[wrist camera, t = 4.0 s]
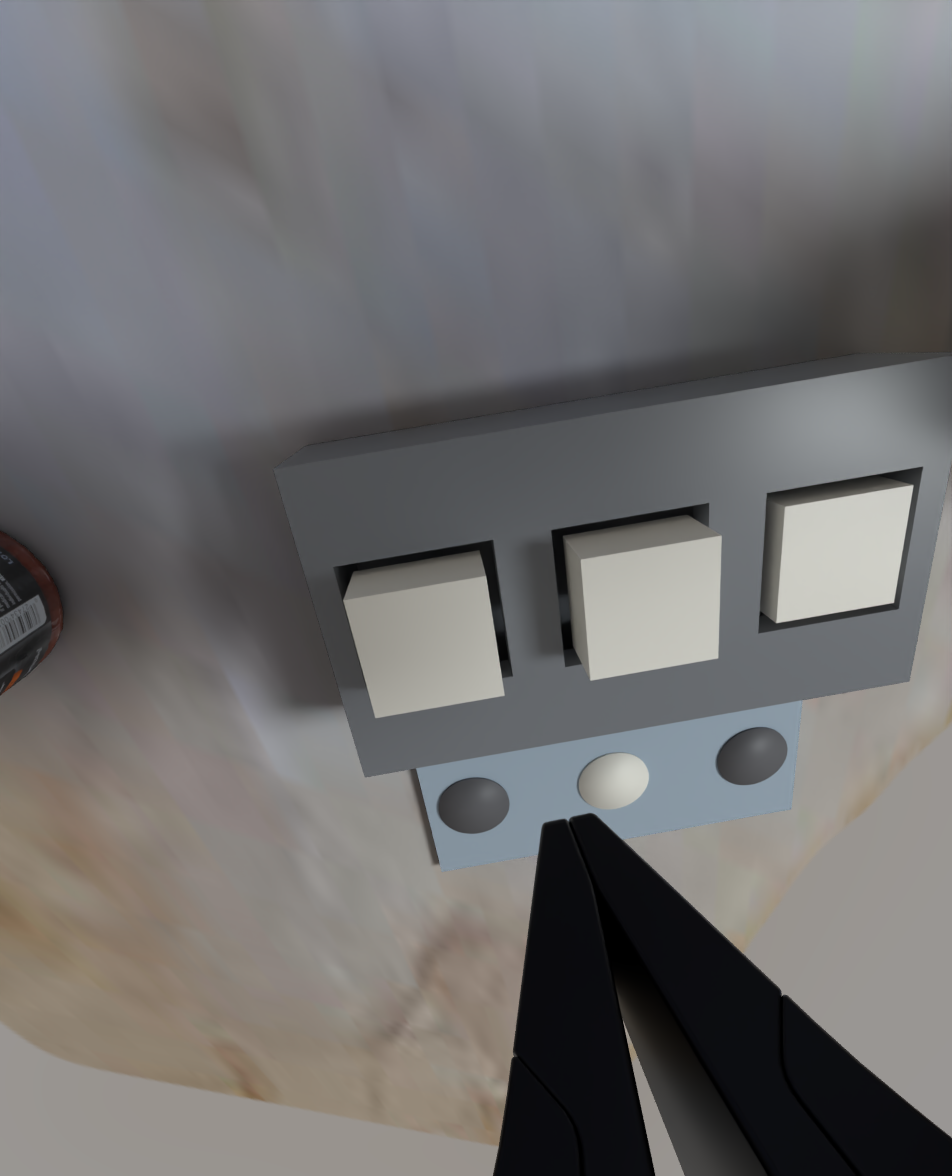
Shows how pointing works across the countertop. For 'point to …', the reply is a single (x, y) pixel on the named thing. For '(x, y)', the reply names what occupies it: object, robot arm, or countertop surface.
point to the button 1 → (425, 633)
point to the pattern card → (614, 783)
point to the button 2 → (833, 547)
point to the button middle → (644, 595)
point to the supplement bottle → (25, 612)
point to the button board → (615, 498)
